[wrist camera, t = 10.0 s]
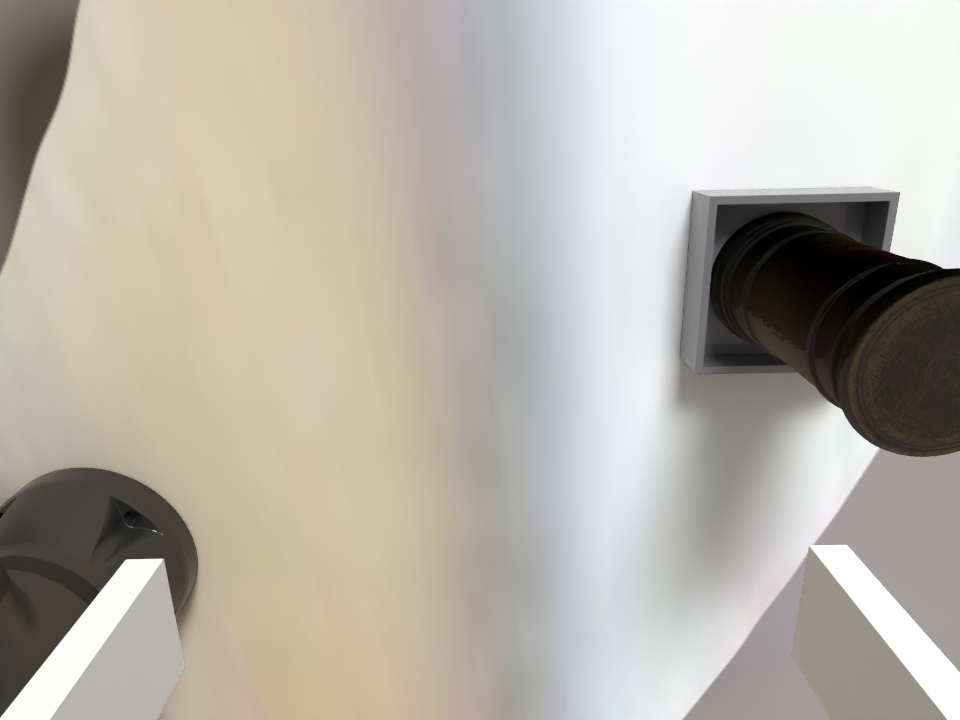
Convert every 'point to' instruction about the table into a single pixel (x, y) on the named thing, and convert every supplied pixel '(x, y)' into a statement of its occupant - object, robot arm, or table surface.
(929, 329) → the container
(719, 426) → the table surface
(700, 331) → the tray
